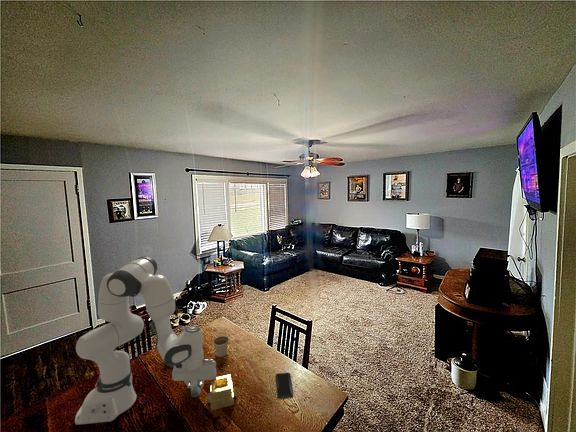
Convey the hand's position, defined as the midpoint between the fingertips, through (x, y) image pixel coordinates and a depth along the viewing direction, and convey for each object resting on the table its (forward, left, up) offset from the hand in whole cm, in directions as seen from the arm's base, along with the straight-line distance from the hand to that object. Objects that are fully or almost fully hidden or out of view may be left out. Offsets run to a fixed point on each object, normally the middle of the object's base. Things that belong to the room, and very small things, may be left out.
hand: (195, 386), depth 120 cm
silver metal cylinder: (0, 0, -4) cm, 4 cm away
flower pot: (+13, +27, -4) cm, 30 cm away
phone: (+42, -8, -4) cm, 43 cm away
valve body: (+12, -7, -4) cm, 14 cm away
